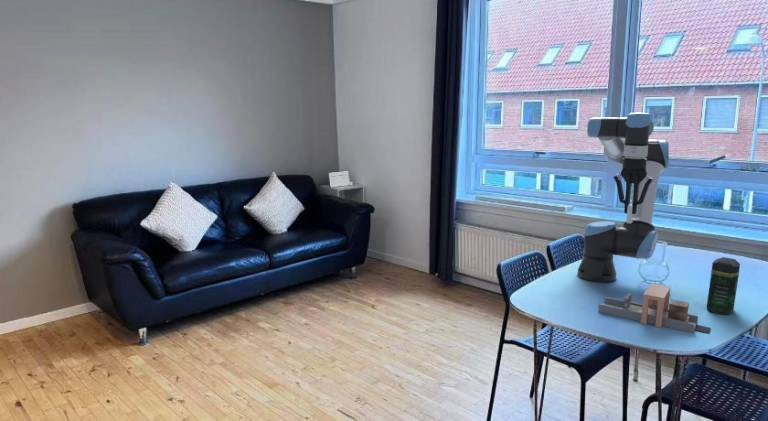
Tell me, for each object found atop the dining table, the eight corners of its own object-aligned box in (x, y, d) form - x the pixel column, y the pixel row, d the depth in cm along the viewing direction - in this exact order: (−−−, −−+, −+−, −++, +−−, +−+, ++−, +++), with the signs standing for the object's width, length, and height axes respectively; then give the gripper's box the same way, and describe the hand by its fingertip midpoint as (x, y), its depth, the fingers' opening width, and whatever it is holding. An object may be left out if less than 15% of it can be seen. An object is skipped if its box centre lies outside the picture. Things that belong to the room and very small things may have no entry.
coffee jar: (730, 317, 175) (737, 264, 172) (704, 311, 181) (710, 260, 177) (735, 308, 182) (742, 258, 179) (710, 303, 188) (716, 254, 184)
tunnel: (640, 323, 171) (643, 294, 169) (648, 311, 181) (651, 283, 179) (660, 327, 168) (664, 297, 166) (667, 315, 178) (670, 287, 175)
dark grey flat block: (694, 330, 166) (694, 329, 165) (696, 325, 169) (696, 324, 169) (709, 333, 163) (709, 332, 163) (710, 328, 167) (710, 327, 167)
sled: (623, 312, 177) (624, 295, 176) (627, 307, 182) (628, 290, 181) (686, 326, 166) (688, 308, 165) (688, 320, 171) (691, 302, 170)
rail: (598, 311, 181) (598, 304, 180) (605, 303, 188) (605, 296, 187) (693, 332, 164) (694, 324, 163) (697, 323, 171) (698, 315, 170)
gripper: (612, 157, 183) (607, 222, 188) (653, 159, 175) (646, 226, 180) (618, 155, 189) (613, 218, 194) (657, 157, 181) (651, 222, 186)
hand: (629, 222), depth 187 cm, fingers closed
